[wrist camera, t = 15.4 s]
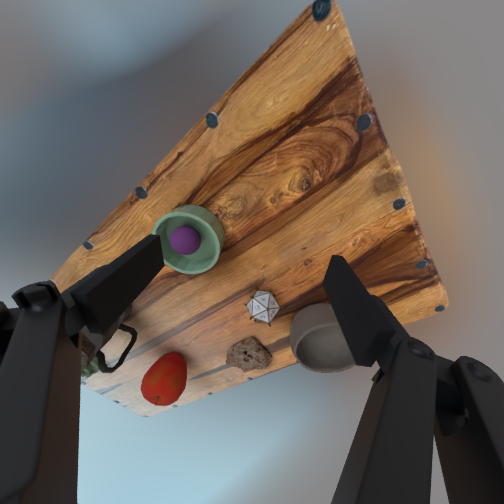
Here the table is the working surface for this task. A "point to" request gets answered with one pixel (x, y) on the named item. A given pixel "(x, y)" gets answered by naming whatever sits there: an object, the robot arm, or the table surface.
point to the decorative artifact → (90, 368)
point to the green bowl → (207, 229)
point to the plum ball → (185, 240)
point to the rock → (248, 355)
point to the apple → (165, 380)
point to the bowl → (319, 340)
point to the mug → (97, 341)
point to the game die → (263, 306)
